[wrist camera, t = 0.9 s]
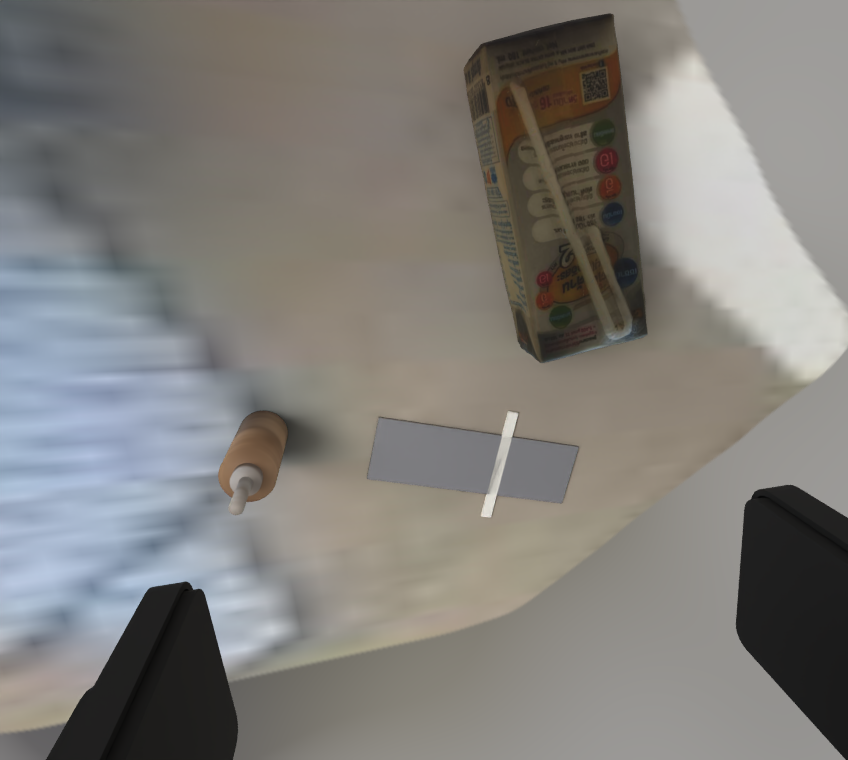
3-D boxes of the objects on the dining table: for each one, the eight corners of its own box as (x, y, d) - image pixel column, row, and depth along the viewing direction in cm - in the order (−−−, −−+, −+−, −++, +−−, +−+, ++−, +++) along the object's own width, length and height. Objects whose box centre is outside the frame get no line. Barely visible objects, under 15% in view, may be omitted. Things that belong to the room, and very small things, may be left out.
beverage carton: (510, 348, 41) (540, 372, 35) (454, 64, 35) (478, 31, 29) (612, 320, 42) (659, 339, 35) (573, 35, 36) (622, -4, 29)
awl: (236, 451, 40) (200, 532, 30) (242, 407, 39) (206, 476, 29) (284, 457, 41) (264, 539, 31) (290, 414, 40) (272, 484, 30)
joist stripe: (362, 501, 43) (362, 502, 43) (383, 391, 40) (384, 392, 40) (554, 523, 46) (555, 524, 46) (584, 422, 43) (585, 423, 43)
